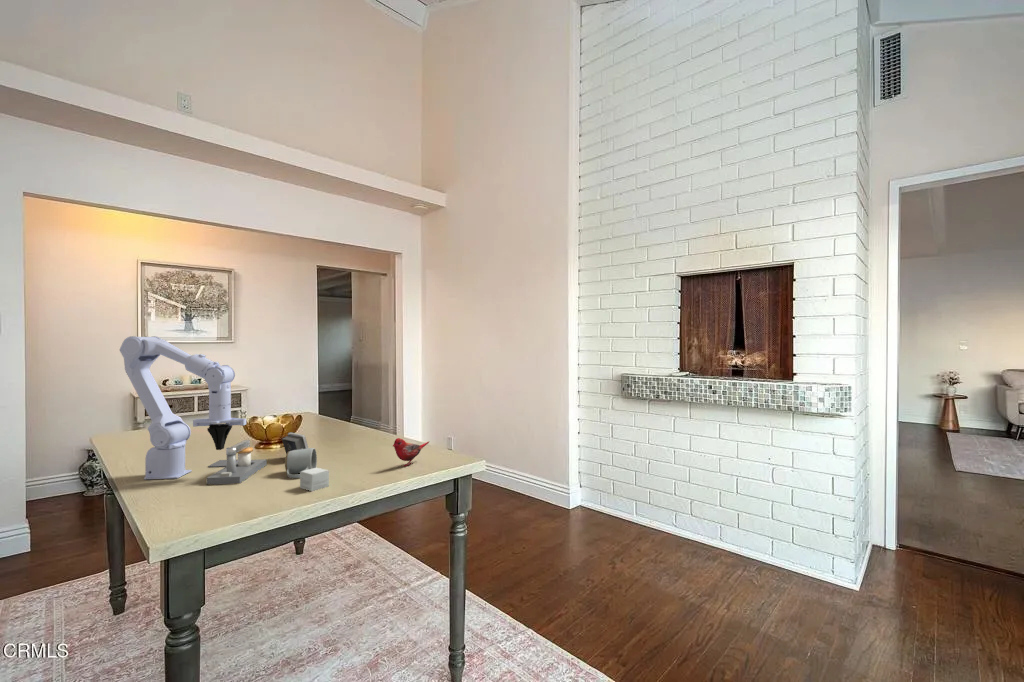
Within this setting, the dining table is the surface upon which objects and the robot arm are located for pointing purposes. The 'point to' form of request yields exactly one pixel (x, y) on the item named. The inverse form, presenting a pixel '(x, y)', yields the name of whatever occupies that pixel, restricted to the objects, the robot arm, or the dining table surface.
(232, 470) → the grey panel with tab
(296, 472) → the ceramic mug
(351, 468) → the dining table surface
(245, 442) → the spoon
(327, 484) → the small box
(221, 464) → the rubber mat
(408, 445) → the decorative bird figurine
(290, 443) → the electrical switch
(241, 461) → the mushroom
